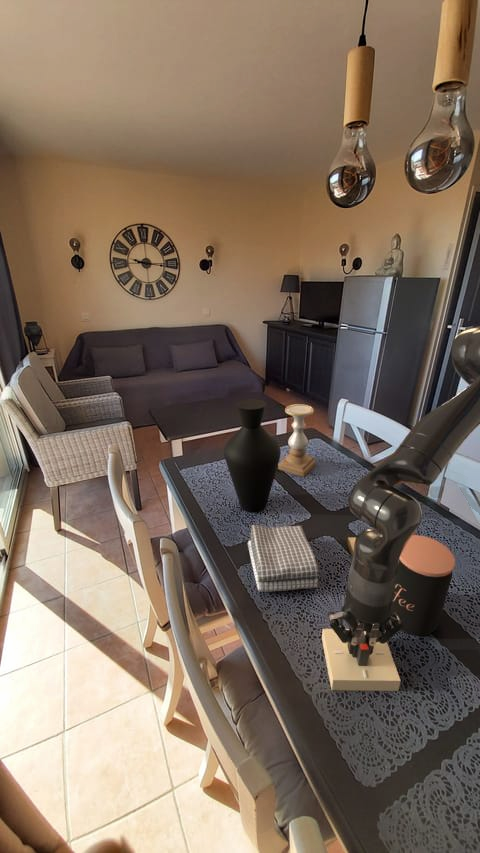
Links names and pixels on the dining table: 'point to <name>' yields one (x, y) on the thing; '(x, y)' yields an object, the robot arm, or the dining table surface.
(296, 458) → the candle holder
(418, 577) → the coffee jar
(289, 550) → the towel
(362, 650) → the dark grey block
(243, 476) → the vase
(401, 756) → the dining table surface
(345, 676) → the panel
